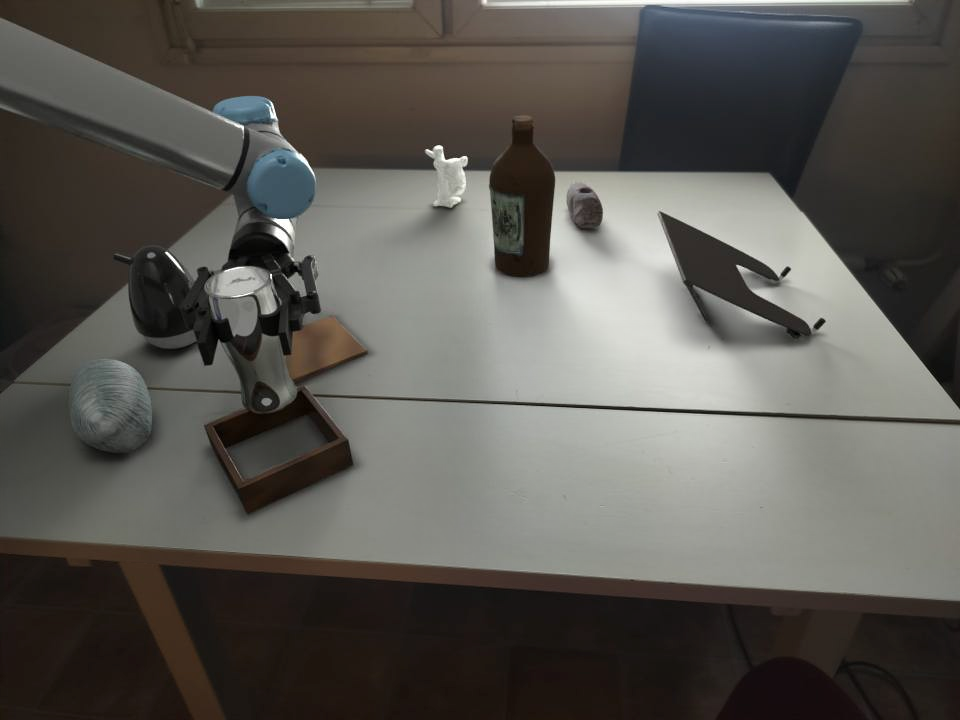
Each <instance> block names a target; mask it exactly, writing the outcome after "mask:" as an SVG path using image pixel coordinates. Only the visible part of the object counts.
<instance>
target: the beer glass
mask: <svg viewBox="0 0 960 720" xmlns="http://www.w3.org/2000/svg"><path fill="white" fill-rule="evenodd" d="M204 289H205V292H206V296H207V301H208V306H209V310H210V315H211V318H212V322H213V325H214V328H215V331H216V334H217V336H218V339H219V340H218V342H219V343H220V345H221V347H222V349H223V350H224V353H225V354H226V357H227V358H228V360H229V361H230V363H231V365H232V367H233V369H234V371H235V373H236V375H237V378H238V381H239V385H240V386H239V387H240V396H241V399H240V400H241V404H242V406H243V409H246V410H248V411H250V412H252V413H256V414H269V413H274V412H277V411H280V410H282V409H284V408H286V407H287V406H289V405H290V404H291V403H292V402H293V401H294V400H295V398H296V396H297V388H298V387H297V386H296V382H294V381H293V379H292V377H291V375H290V373H289V370H288V367H287V361H286V355H285V356H284V355H283V351H282V347H281V343H280V339H279V335H278V329H279V320H280V311H281V300H280V298H279V297H278V294H277V291H276V288H275V285H274V282H273V279H272V275H271V273H270V272H269V271H268V270H267V269H265V268H262V267H258V266H240V267H234V268H230V269H226V270H224V271H221V272H219V273H217V274H215V275H213V276H212V277H210V278H209V279H208V280H207V281H206V283H205V286H204Z"/></svg>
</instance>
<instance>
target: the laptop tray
mask: <svg viewBox="0 0 960 720" xmlns="http://www.w3.org/2000/svg"><path fill="white" fill-rule="evenodd" d="M657 216H658V220H659V222H660V225H661V228H662V230H663V232H664V235H665V238H666V240H667V243H668V245H669V248H670V250H671V254H672V257H673V259H674V261H675V265H676V268H677V269H678V272H679V275H680V277H681V280H682V284H683V285H684V286H685V287H686V289H687V290H688V292H689V294H690V296H691V297H692V299H693V301H694V302H695V305H696V307H697V308H698V310H699V312H700V314H701V316H702V317H703V320H704V322H705V323H706V322H708V319H707V317H706V315H705V313H704V310H703V308H702V307H701V304H700V301H699V300H698V297H697V293H696V289H695V287H696V288H698V289H699V290H702V291H704V292H707V293H708V294H710V295H713V296H714V297H717V298H718V299H720V300H723V301H726V302H727V303H730V304H731V305H734V306H736V307H738V308H741V309H743V310H745V311H747V312H749V313H751V314H753V315H756V316H758V317H759V318H763V319H764V320H767V321H769V322H772V323H773V324H776V325H779V326H781V327H783V328H785V333H786V334H787V335H788V336H789V337H791V338H792V339H793V340H795V339H796V340H798V339H800V338H801V337H802V335H803V336H805V337H810V336H812V335H814V334H815V333H817V331H819V330H820V329H821V328H822V326H824V324H825V323H827V322H826V321H827V320H826V319H825V318H823V317H819V319H818V320H816V322H814V324H813V326H809V324H808V323H807V322H806V321H805V320H804V319H802V318H801V317H799V316H798V315H796V314H795V313H794V314H793V313H792V312H790V311H788V310H786V309H784V308H783V307H781V306H779V305H778V304H775V303H773V302H771V301H769V300H768V299H766V298H764V297H762V296H760V295H758V294H756V293H755V292H754V291H752V290H751V289H750V287H749V286H748V285H747V283H746V282H745V279H744V278H743V275H742V274H741V272H740V270H739V268H738V266H739V267H742V268H744V269H746V270H749V271H750V272H752V273H755V274H757V275H759V276H760V277H763V278H765V279H767V280H769V281H772V282H775V283H777V282H778V283H779V282H781V281H783V280H784V279H785V278H786V277H787V275H788V274H789V273H790V272H791V271H792V268H791V267H790V266H789V265H788V266H785V267H784V268H783V270H782V271H781V272H780V274H779V275H778V274H777V273H776V272H775V271H774V269H772V268H771V267H770V266H768V265H767V264H766V263H764V262H762V261H761V260H758V259H757V258H755V257H753V256H751V255H750V254H748V253H745V252H744V251H742V250H740V249H737V248H736V247H734V246H732V245H730V244H728V243H726V242H724V241H722V240H720V239H718V238H717V237H714V236H712V235H710V234H708V233H706V232H704V231H702V230H700V229H698V228H696V227H694V226H692V225H691V224H688V223H686V222H684V221H682V220H680V219H677V218H676V217H673V216H671V215H669V214H667V213H665V212H663V211H661V210H659V211H658V212H657Z"/></svg>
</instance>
